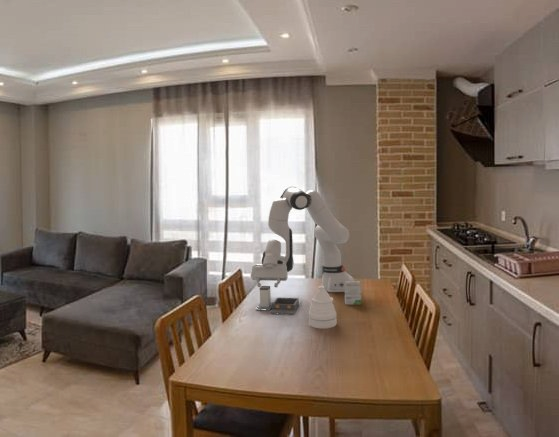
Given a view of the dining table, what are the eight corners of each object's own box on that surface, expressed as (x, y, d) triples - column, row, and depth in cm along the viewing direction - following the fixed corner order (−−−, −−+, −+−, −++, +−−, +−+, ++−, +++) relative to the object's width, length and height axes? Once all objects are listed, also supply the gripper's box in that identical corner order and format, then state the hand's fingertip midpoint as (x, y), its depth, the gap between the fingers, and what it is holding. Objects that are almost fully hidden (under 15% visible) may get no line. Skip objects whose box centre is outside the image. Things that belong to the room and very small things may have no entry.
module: (270, 304, 226) (270, 285, 225) (268, 306, 221) (268, 288, 220) (262, 304, 227) (261, 285, 226) (260, 306, 222) (259, 288, 221)
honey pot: (335, 329, 189) (334, 289, 187) (307, 327, 191) (305, 288, 189) (337, 319, 201) (336, 282, 199) (310, 318, 204) (309, 281, 202)
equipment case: (299, 304, 226) (298, 298, 225) (292, 314, 210) (292, 307, 209) (277, 304, 228) (277, 297, 228) (269, 313, 212) (269, 307, 212)
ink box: (345, 304, 223) (344, 282, 222) (344, 301, 228) (344, 280, 227) (361, 304, 222) (361, 282, 221) (360, 301, 227) (360, 280, 226)
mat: (275, 303, 229) (275, 302, 229) (270, 310, 217) (270, 309, 217) (261, 303, 231) (261, 301, 231) (255, 310, 219) (255, 308, 219)
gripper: (251, 261, 235) (247, 283, 226) (287, 261, 230) (284, 284, 222) (254, 267, 240) (250, 289, 231) (289, 267, 235) (286, 289, 226)
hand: (267, 286), depth 226 cm, fingers open, 8 cm apart
